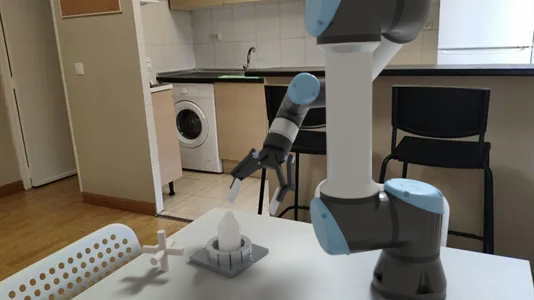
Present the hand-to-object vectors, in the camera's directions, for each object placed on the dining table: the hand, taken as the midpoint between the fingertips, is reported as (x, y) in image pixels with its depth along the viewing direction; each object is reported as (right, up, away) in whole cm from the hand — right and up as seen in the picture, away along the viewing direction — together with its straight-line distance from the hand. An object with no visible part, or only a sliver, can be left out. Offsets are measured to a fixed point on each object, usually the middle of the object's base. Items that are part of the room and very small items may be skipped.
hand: (249, 207), depth 113 cm
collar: (-5, -12, -4) cm, 13 cm away
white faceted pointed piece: (-5, -11, -4) cm, 13 cm away
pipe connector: (-20, -14, -9) cm, 26 cm away
